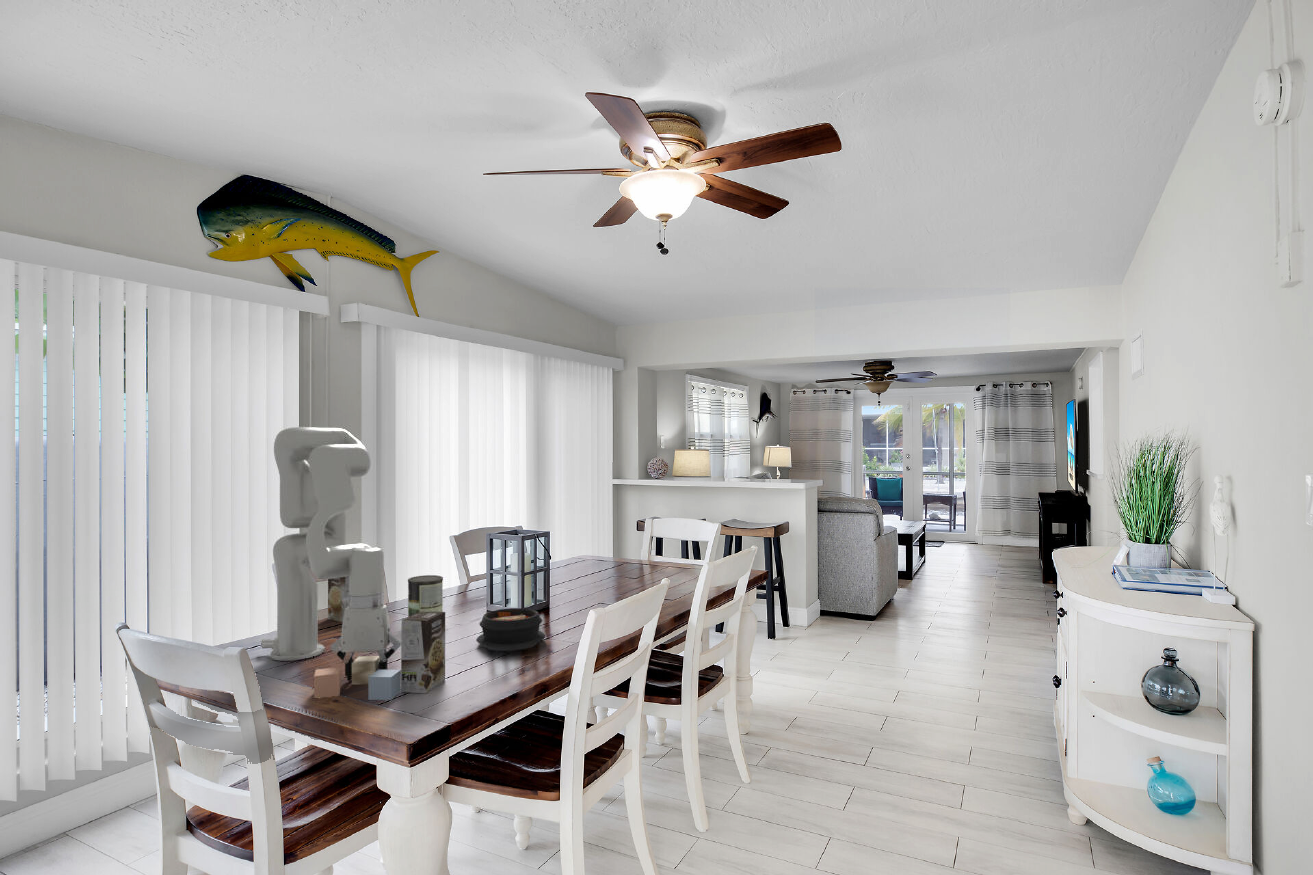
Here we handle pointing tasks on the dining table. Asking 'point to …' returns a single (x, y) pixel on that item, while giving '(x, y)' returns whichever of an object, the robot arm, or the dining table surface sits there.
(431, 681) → the coffee box
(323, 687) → the terracotta block
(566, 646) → the dining table surface
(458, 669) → the dining table surface
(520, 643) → the casserole
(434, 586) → the coffee can
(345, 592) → the coffee box
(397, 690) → the slate block
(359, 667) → the maple cube
